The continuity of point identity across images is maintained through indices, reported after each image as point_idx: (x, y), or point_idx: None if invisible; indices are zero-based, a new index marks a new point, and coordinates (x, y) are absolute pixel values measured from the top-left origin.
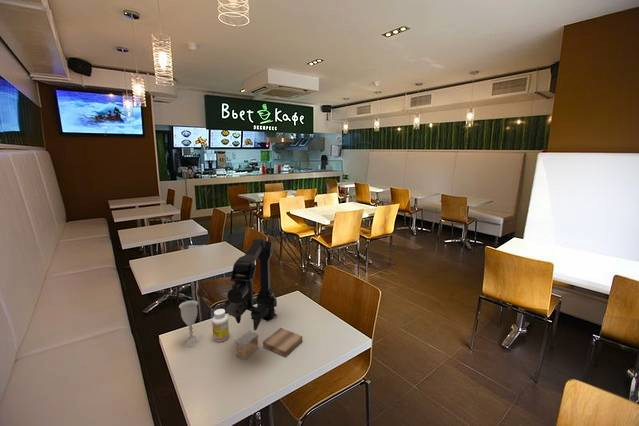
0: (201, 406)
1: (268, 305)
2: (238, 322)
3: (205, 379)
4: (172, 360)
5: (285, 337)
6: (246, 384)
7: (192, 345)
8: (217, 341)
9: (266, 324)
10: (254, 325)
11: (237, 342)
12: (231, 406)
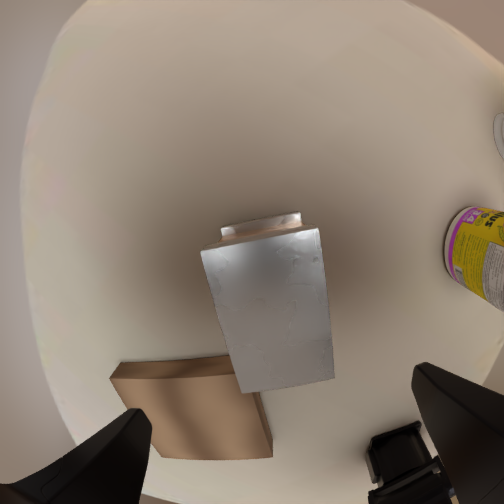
0: None
1: (388, 494)
2: (419, 376)
3: (252, 21)
4: (454, 29)
5: (196, 436)
6: (86, 146)
7: (495, 124)
8: (461, 211)
9: (364, 428)
10: (87, 450)
11: (286, 232)
12: (59, 67)
